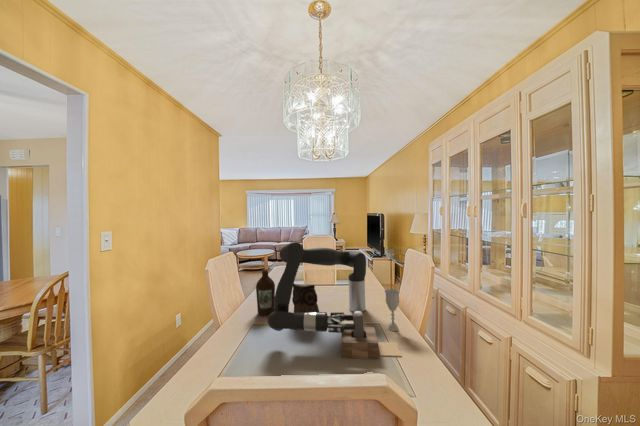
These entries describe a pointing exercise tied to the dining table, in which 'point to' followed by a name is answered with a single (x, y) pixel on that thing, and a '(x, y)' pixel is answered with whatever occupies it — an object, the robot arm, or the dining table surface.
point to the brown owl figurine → (304, 298)
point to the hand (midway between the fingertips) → (354, 322)
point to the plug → (358, 324)
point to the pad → (389, 349)
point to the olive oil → (265, 294)
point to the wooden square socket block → (360, 344)
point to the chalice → (392, 305)
